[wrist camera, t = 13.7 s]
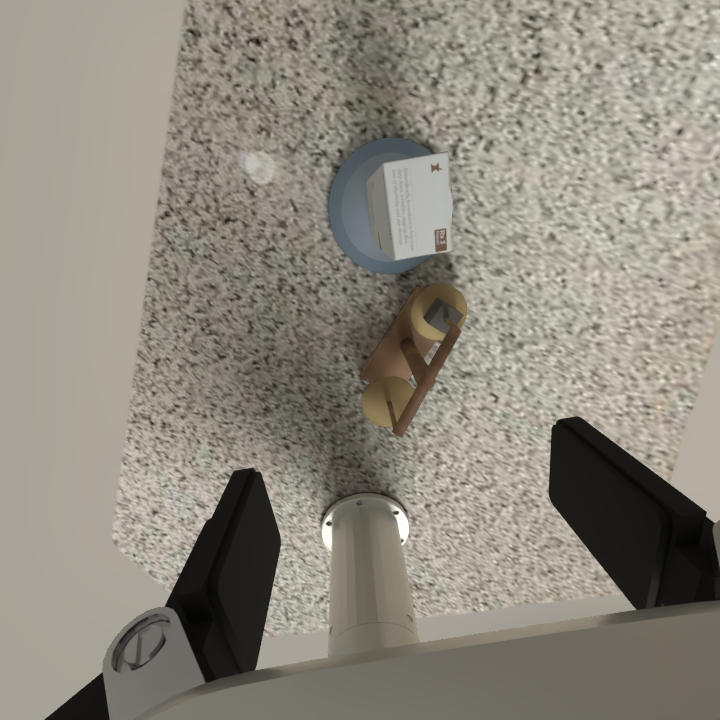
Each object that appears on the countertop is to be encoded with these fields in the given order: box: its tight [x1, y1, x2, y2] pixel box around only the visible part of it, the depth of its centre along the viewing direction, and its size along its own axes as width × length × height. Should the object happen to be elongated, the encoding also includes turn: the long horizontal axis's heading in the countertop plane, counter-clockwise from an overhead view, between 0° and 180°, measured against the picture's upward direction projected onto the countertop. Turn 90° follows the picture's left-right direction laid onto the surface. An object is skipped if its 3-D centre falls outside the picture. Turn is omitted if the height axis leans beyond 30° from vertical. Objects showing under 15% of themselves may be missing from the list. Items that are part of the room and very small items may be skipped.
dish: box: [329, 137, 453, 274], centre depth 33 cm, size 12×12×1 cm
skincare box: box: [366, 151, 453, 260], centre depth 27 cm, size 6×4×12 cm
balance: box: [360, 284, 467, 437], centre depth 33 cm, size 16×6×12 cm, turn 149°
